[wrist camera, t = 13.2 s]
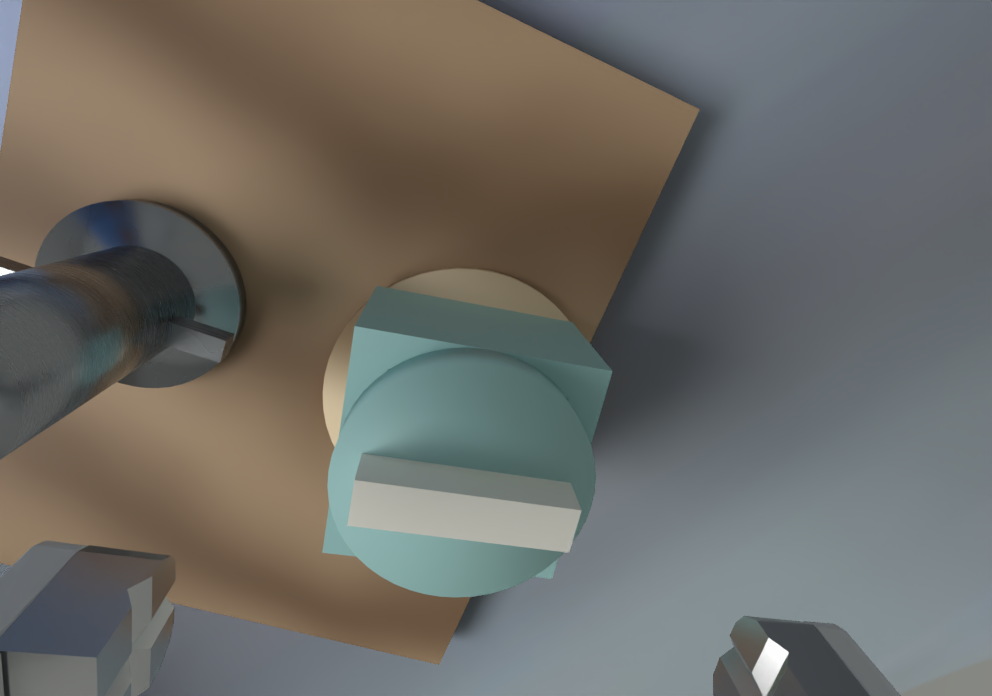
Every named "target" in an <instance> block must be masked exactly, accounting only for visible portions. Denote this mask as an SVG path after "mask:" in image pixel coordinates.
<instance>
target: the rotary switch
mask: <svg viewBox="0 0 992 696" xmlns="http://www.w3.org/2000/svg"><path fill="white" fill-rule="evenodd" d="M612 372H613V371H612V370H611V369H610V367H609V366H608V365H607V364H606V363H605V361H604V360H603V359H602V358H601V356H600V355H599V354H598V353H597V352H596V350H595V349H594V348H593V347H592V345H591V344H590V343H589V342H588V341H587V339H586V338H585V337H584V336H583V334H582V333H581V332H580V331H579V330H578V328H577V327H576V326H575V325H574V324H573V322H569V321H563V320H558V319H553V318H547V317H542V316H537V315H531V314H526V313H520V312H515V311H510V310H504V309H499V308H494V307H488V306H483V305H478V304H472V303H467V302H462V301H456V300H451V299H445V298H440V297H435V296H429V295H424V294H419V293H413V292H408V291H403V290H397V289H392V288H387V287H381V286H376V288H375V290H374V291H373V293H372V295H371V297H370V299H369V301H368V302H367V304H366V306H365V308H364V310H363V312H362V313H361V315H360V317H359V319H358V321H357V322H356V324H355V326H354V333H353V340H352V347H351V354H350V361H349V368H348V375H347V382H346V389H345V397H344V404H343V411H342V418H341V425H340V432H339V438H338V440H337V443H336V445H335V448H334V451H333V453H332V457H331V461H330V466H329V470H328V485H327V487H328V498H329V509H328V516H327V523H326V530H325V537H324V544H323V551H322V553H329V554H338V555H347V556H356V557H357V558H358V559H359V560H361V561H362V562H363V563H364V564H365V565H366V566H367V567H368V568H370V569H371V570H372V571H374V572H375V573H376V574H378V575H379V576H381V577H383V578H384V579H386V580H388V581H390V582H392V583H394V584H396V585H398V586H401V587H403V588H406V589H408V590H411V591H415V592H419V593H422V594H427V595H433V596H439V597H456V598H458V597H474V596H480V595H486V594H491V593H495V592H498V591H502V590H506V589H508V588H511V587H513V586H516V585H518V584H521V583H523V582H524V581H526V580H528V579H530V578H532V577H541V578H550V579H552V577H553V574H554V570H555V567H556V563H557V560H558V558H559V557H560V556H561V555H562V554H563V553H564V552H567V553H569V551H570V548H571V545H572V542H573V541H574V540H575V538H576V537H577V535H578V534H579V532H580V530H581V529H582V527H583V525H584V523H585V521H586V519H587V516H588V514H589V511H590V508H591V505H592V501H593V496H594V492H595V480H596V473H595V461H594V456H593V452H592V447H591V444H592V440H593V437H594V433H595V430H596V426H597V423H598V420H599V416H600V413H601V409H602V406H603V402H604V399H605V396H606V392H607V389H608V385H609V382H610V379H611V375H612Z"/></svg>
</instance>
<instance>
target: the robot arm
mask: <svg viewBox="0 0 992 696" xmlns="http://www.w3.org/2000/svg"><path fill="white" fill-rule="evenodd" d="M175 580H176V560H175V559H174V558H173V557H172V556H170V555H162V554H155V553H147V552H139V551H131V550H124V549H116V548H108V547H100V546H93V545H89V546H85V545H78V544H70V543H63V542H55V541H48V540H46V541H44V542H41V543H39V544H36V545H34V546H33V547H31V548H30V549H29V550H28V551H27V552H26V553H25V554H24V555H23V556H21V557H20V558H19V559H18V560H17V561H16V562H15V563H14V564H13V565H12V566H11V567H10V568H9V569H8V570H7V571H6V572H5V573H4V574H3V575H2V576H1V577H0V696H138V695H139V694H141V693H142V692H144V691H145V690H147V689H148V688H149V687H150V685H151V684H152V682H153V680H154V678H155V676H156V674H157V672H158V670H159V668H160V666H161V664H162V661H163V658H164V656H165V653H166V650H167V647H168V645H169V642H170V637H171V632H172V628H173V622H174V606H173V605H172V604H171V603H170V601H169V600H168V599H167V598H166V595H167V594H168V592H169V590H170V589H171V587H172V585H173V584H174V582H175ZM730 637H731V640H732V643H733V646H734V647H733V648H732V649H731V650H729V651H728V652H727V653H725V654H724V655H723V656H721V657H720V658H719V661H718V664H717V666H716V669H715V671H714V674H713V695H714V696H901V695H900V694H899V693H898V692H897V691H896V689H895V688H894V687H893V686H892V685H891V684H890V682H889V681H888V680H887V679H886V678H885V676H884V675H883V674H882V673H881V672H880V671H879V669H878V668H877V667H876V666H875V665H874V664H873V662H872V661H871V660H870V659H869V658H868V656H867V655H866V654H865V653H864V652H863V651H862V649H861V648H860V647H859V646H858V645H857V643H856V642H855V641H854V640H853V639H852V638H851V636H850V635H849V634H848V633H847V632H846V631H845V630H843V629H842V628H840V627H839V626H837V625H835V624H830V623H819V622H807V621H804V622H800V621H792V620H781V619H771V618H760V617H750V616H744V617H742V618H741V619H740V620H738V621H737V622H736V623H735V625H734V627H733V630H732V632H731V634H730Z"/></svg>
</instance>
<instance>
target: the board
mask: <svg viewBox="0 0 992 696" xmlns="http://www.w3.org/2000/svg"><path fill="white" fill-rule="evenodd" d="M699 110H700V109H698V108H696V107H694V106H692V105H690V104H688V103H686V102H684V101H682V100H680V99H678V98H676V97H674V96H672V95H670V94H667V93H665V92H663V91H661V90H659V89H657V88H655V87H653V86H651V85H649V84H647V83H645V82H643V81H641V80H639V79H637V78H635V77H633V76H631V75H629V74H627V73H625V72H623V71H621V70H619V69H616V68H614V67H612V66H610V65H608V64H606V63H604V62H602V61H600V60H598V59H596V58H594V57H592V56H590V55H588V54H586V53H584V52H582V51H580V50H578V49H576V48H574V47H572V46H570V45H568V44H566V43H563V42H561V41H559V40H557V39H555V38H553V37H551V36H549V35H547V34H545V33H543V32H541V31H539V30H537V29H535V28H533V27H531V26H529V25H527V24H525V23H523V22H521V21H519V20H517V19H515V18H512V17H510V16H508V15H506V14H504V13H502V12H500V11H498V10H496V9H494V8H492V7H490V6H488V5H486V4H484V3H482V2H480V1H478V0H23V1H22V8H21V15H20V22H19V29H18V36H17V42H16V49H15V56H14V63H13V70H12V76H11V83H10V90H9V97H8V104H7V111H6V117H5V124H4V131H3V138H2V145H1V151H0V256H1V257H4V258H7V259H10V260H13V261H16V262H19V263H22V264H25V265H28V266H31V267H35V262H36V258H37V254H38V251H39V249H40V247H41V245H42V242H43V241H44V239H45V238H46V236H47V234H48V233H49V232H50V230H51V229H52V228H53V227H54V226H55V225H56V224H57V223H58V222H59V221H60V220H62V219H63V218H64V217H66V216H67V215H68V214H70V213H72V212H74V211H76V210H77V209H80V208H82V207H85V206H88V205H90V204H95V203H99V202H104V201H113V200H124V199H140V200H149V201H154V202H159V203H162V204H166V205H169V206H172V207H174V208H176V209H179V210H181V211H183V212H185V213H187V214H189V215H190V216H192V217H194V218H196V219H197V220H198V221H200V222H201V223H202V224H204V225H205V226H207V227H208V228H209V229H210V230H211V231H212V232H213V233H214V234H215V235H216V236H217V237H218V238H219V239H220V240H221V241H222V243H223V244H224V245H225V246H226V247H227V249H228V250H229V252H230V253H231V255H232V256H233V258H234V260H235V262H236V264H237V266H238V268H239V270H240V273H241V276H242V279H243V282H244V286H245V291H246V302H247V306H246V317H245V322H244V326H243V329H242V332H241V334H240V337H239V338H238V340H237V342H236V344H235V346H234V347H233V348H232V349H231V351H230V352H229V355H228V356H227V357H226V358H225V359H224V360H222V361H221V362H220V363H218V364H217V365H216V366H214V367H213V368H212V369H211V370H209V371H208V372H207V373H205V374H204V375H202V376H200V377H198V378H196V379H195V380H192V381H190V382H187V383H184V384H181V385H177V386H172V387H165V388H142V387H135V386H130V385H126V384H121V383H118V382H116V383H115V384H113V385H112V386H110V387H109V388H107V389H106V390H104V391H103V392H101V393H100V394H98V395H97V396H95V397H94V398H92V399H91V400H89V401H88V402H86V403H85V404H83V405H82V406H80V407H79V408H77V409H76V410H74V411H73V412H71V413H70V414H68V415H67V416H65V417H64V418H62V419H61V420H59V421H58V422H56V423H55V424H53V425H52V426H50V427H49V428H47V429H46V430H44V431H43V432H41V433H40V434H38V435H37V436H35V437H34V438H32V439H31V440H29V441H28V442H26V443H25V444H23V445H22V446H20V447H19V448H17V449H16V450H14V451H13V452H11V453H10V454H8V455H7V456H5V457H4V458H2V459H1V460H0V563H2V564H7V565H11V566H12V565H13V564H14V563H15V562H16V561H17V560H18V559H19V558H20V557H21V556H23V555H24V554H25V553H26V552H27V551H28V550H29V549H30V548H31V547H33V546H34V545H36V544H39V543H41V542H44V541H46V540H48V541H55V542H63V543H70V544H78V545H85V546H89V545H93V546H100V547H108V548H116V549H124V550H131V551H139V552H147V553H155V554H162V555H170V556H172V557H173V558H174V559H175V560H176V580H175V582H174V584H173V585H172V587H171V589H170V590H169V592H168V594H167V595H166V598H167V599H168V600H169V601H170V602H171V603H175V604H179V605H184V606H188V607H192V608H197V609H201V610H205V611H210V612H214V613H218V614H223V615H227V616H231V617H235V618H240V619H244V620H248V621H253V622H257V623H261V624H266V625H270V626H274V627H279V628H283V629H287V630H292V631H296V632H300V633H305V634H309V635H313V636H318V637H322V638H326V639H330V640H335V641H339V642H343V643H348V644H352V645H356V646H361V647H365V648H369V649H374V650H378V651H382V652H387V653H391V654H395V655H400V656H404V657H408V658H413V659H417V660H421V661H425V662H430V663H434V664H438V665H439V664H440V661H441V659H442V657H443V655H444V653H445V651H446V649H447V647H448V644H449V642H450V640H451V638H452V636H453V634H454V632H455V630H456V627H457V625H458V623H459V621H460V619H461V617H462V615H463V613H464V610H465V608H466V606H467V604H468V602H469V600H470V598H471V597H458V598H456V597H439V596H433V595H427V594H422V593H419V592H415V591H411V590H408V589H406V588H403V587H401V586H398V585H396V584H394V583H392V582H390V581H388V580H386V579H384V578H383V577H381V576H379V575H378V574H376V573H375V572H374V571H372V570H371V569H370V568H368V567H367V566H366V565H365V564H364V563H363V562H362V561H361V560H359V559H358V558H357V557H356V556H347V555H338V554H329V553H322V551H323V544H324V537H325V530H326V523H327V516H328V509H329V498H328V487H327V485H328V470H329V466H330V461H331V457H332V453H333V451H334V448H335V445H336V443H337V440H338V438H339V432H340V425H341V418H342V411H343V404H344V397H345V389H346V382H347V375H348V368H349V361H350V354H351V347H352V340H353V333H354V326H355V324H356V322H357V321H358V319H359V317H360V315H361V313H362V312H363V310H364V308H365V306H366V304H367V302H368V301H369V299H370V297H371V295H372V293H373V291H374V290H375V288H376V286H381V287H387V288H392V289H397V290H403V291H408V292H413V293H419V294H424V295H429V296H435V297H440V298H445V299H451V300H456V301H462V302H467V303H472V304H478V305H483V306H488V307H494V308H499V309H504V310H510V311H515V312H520V313H526V314H531V315H537V316H542V317H547V318H553V319H558V320H563V321H569V322H573V324H574V325H575V326H576V327H577V328H578V330H579V331H580V332H581V333H582V334H583V336H584V337H585V338H586V339H587V341H588V342H589V343H590V342H591V340H592V338H593V336H594V334H595V332H596V329H597V327H598V325H599V323H600V321H601V319H602V317H603V315H604V312H605V310H606V308H607V306H608V304H609V302H610V300H611V298H612V295H613V293H614V291H615V289H616V287H617V285H618V283H619V280H620V278H621V276H622V274H623V272H624V270H625V268H626V266H627V263H628V261H629V259H630V257H631V255H632V253H633V251H634V249H635V246H636V244H637V242H638V240H639V238H640V236H641V234H642V232H643V229H644V227H645V225H646V223H647V221H648V219H649V217H650V215H651V212H652V210H653V208H654V206H655V204H656V202H657V200H658V197H659V195H660V193H661V191H662V189H663V187H664V185H665V183H666V180H667V178H668V176H669V174H670V172H671V170H672V168H673V166H674V163H675V161H676V159H677V157H678V155H679V153H680V151H681V149H682V146H683V144H684V142H685V140H686V138H687V136H688V134H689V132H690V129H691V127H692V125H693V123H694V121H695V119H696V117H697V114H698V112H699Z"/></svg>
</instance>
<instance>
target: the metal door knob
mask: <svg viewBox="0 0 992 696" xmlns="http://www.w3.org/2000/svg"><path fill="white" fill-rule="evenodd" d="M246 306H247V302H246V291H245V286H244V282H243V279H242V276H241V273H240V270H239V268H238V266H237V264H236V262H235V260H234V258H233V256H232V255H231V253H230V252H229V250H228V249H227V247H226V246H225V245H224V244H223V243H222V241H221V240H220V239H219V238H218V237H217V236H216V235H215V234H214V233H213V232H212V231H211V230H210V229H209V228H208V227H207V226H205V225H204V224H202V223H201V222H200V221H198V220H197V219H196V218H194V217H192V216H190V215H189V214H187V213H185V212H183V211H181V210H179V209H176V208H174V207H172V206H169V205H166V204H162V203H159V202H154V201H149V200H140V199H124V200H113V201H104V202H99V203H95V204H90V205H88V206H85V207H82V208H80V209H77V210H76V211H74V212H72V213H70V214H68V215H67V216H66V217H64V218H63V219H62V220H60V221H59V222H58V223H57V224H56V225H55V226H54V227H53V228H52V229H51V230H50V232H49V233H48V234H47V236H46V238H45V239H44V241H43V242H42V245H41V247H40V249H39V251H38V254H37V258H36V262H35V267H31V266H28V265H25V264H22V263H19V262H16V261H13V260H10V259H7V258H4V257H1V256H0V460H1V459H2V458H4V457H5V456H7V455H8V454H10V453H11V452H13V451H14V450H16V449H17V448H19V447H20V446H22V445H23V444H25V443H26V442H28V441H29V440H31V439H32V438H34V437H35V436H37V435H38V434H40V433H41V432H43V431H44V430H46V429H47V428H49V427H50V426H52V425H53V424H55V423H56V422H58V421H59V420H61V419H62V418H64V417H65V416H67V415H68V414H70V413H71V412H73V411H74V410H76V409H77V408H79V407H80V406H82V405H83V404H85V403H86V402H88V401H89V400H91V399H92V398H94V397H95V396H97V395H98V394H100V393H101V392H103V391H104V390H106V389H107V388H109V387H110V386H112V385H113V384H115V383H116V382H118V383H121V384H126V385H130V386H135V387H142V388H165V387H172V386H177V385H181V384H184V383H187V382H190V381H192V380H195V379H196V378H198V377H200V376H202V375H204V374H205V373H207V372H208V371H209V370H211V369H212V368H213V367H214V366H216V365H217V364H218V363H220V362H221V361H222V360H224V359H225V358H226V357H227V356H228V355H229V352H230V351H231V349H232V348H233V347H234V346H235V344H236V342H237V340H238V338H239V337H240V334H241V332H242V329H243V326H244V322H245V317H246Z"/></svg>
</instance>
